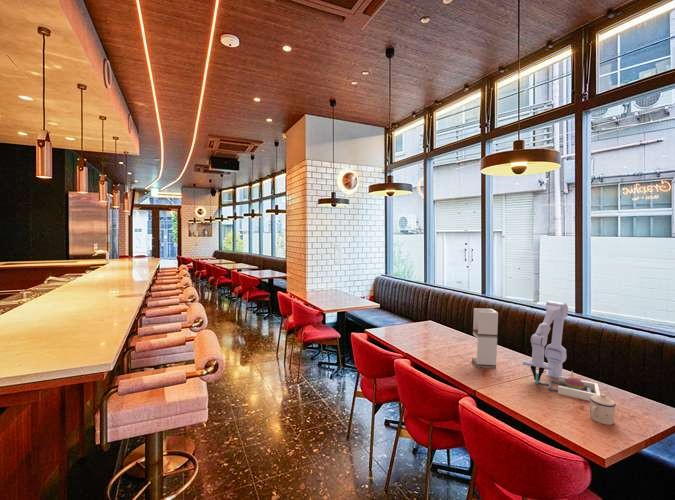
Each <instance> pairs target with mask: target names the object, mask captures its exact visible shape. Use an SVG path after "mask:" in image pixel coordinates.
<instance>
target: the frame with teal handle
mask: <svg viewBox="0 0 675 500" xmlns="http://www.w3.org/2000/svg"><path fill="white" fill-rule="evenodd" d="M538 377H539V370H536V380H534V381H535V385H539V384H540V385H543V386H548V391H551V392H557V393H558V388H554V387H553V388H552V384H558V385H560V386H564V387H567V385H566V384H565V383H563V382H558V381H557V380H552V379H549V380H548V383H547V382H543V381H538ZM581 390H583V391H586V392H590V393H592V390H591V389H590V386H587V388H586V387H584V388H582V389H581Z"/></svg>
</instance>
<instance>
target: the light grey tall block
mask: <svg viewBox="0 0 675 500" xmlns="http://www.w3.org/2000/svg"><path fill="white" fill-rule="evenodd" d="M472 325H473V327H472V335H473V336H474V337H475V338H476V339H477V342H476V343H477V345H476V348H477V349H476V357H472V358H471V361H472V363H473V364H474V366H475V367H476V368H480V367H482V369H483V368H484V369H485V368H486V369H497V354H498V353H497V352H498V351H497V350H498V331H499V330H498V329H499V328H498V327H499V326H498V325H499V312H498V311H496V310H494V309H493V308H481V307H480V308H479V307H478V308H477V307H475V308H473V323H472Z"/></svg>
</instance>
